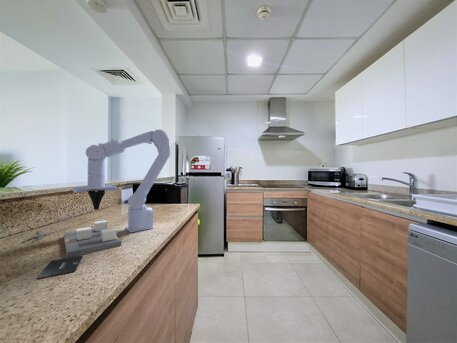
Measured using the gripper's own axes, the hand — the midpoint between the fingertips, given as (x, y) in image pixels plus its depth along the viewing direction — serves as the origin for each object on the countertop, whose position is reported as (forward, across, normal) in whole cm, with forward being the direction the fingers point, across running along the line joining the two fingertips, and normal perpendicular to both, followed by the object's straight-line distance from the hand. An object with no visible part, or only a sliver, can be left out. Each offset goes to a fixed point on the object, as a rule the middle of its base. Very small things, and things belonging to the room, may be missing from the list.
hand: (96, 209), depth 78 cm
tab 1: (+8, +5, +10) cm, 14 cm away
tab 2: (+8, -1, +3) cm, 8 cm away
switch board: (+9, +3, +10) cm, 14 cm away
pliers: (+10, +14, -11) cm, 20 cm away
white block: (+8, -1, +17) cm, 19 cm away
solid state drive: (+10, +11, +28) cm, 31 cm away
